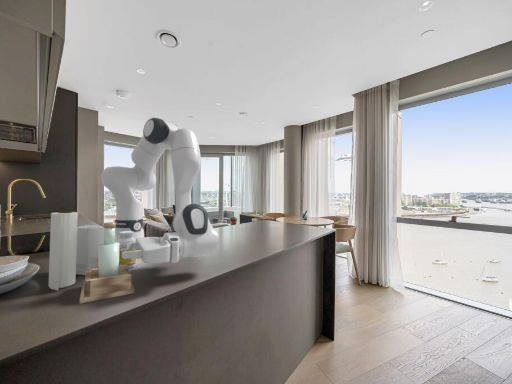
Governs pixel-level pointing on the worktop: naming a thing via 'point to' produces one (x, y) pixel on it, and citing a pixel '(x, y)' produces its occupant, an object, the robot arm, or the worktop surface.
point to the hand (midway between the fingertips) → (121, 251)
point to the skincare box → (88, 247)
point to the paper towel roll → (63, 249)
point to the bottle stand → (106, 285)
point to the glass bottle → (108, 252)
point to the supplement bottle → (125, 239)
